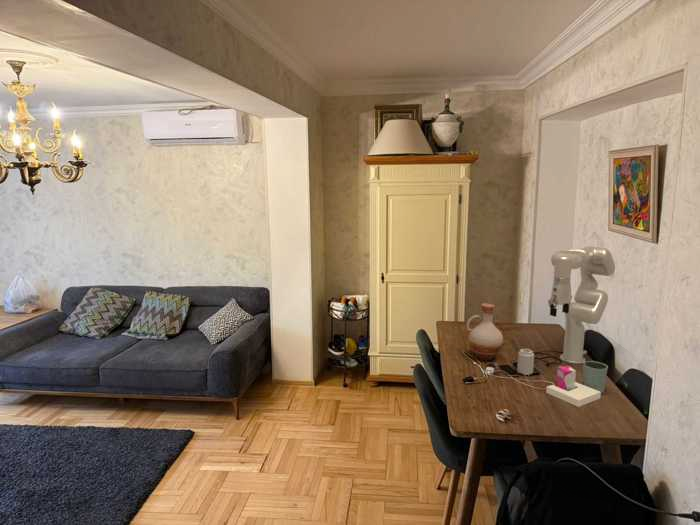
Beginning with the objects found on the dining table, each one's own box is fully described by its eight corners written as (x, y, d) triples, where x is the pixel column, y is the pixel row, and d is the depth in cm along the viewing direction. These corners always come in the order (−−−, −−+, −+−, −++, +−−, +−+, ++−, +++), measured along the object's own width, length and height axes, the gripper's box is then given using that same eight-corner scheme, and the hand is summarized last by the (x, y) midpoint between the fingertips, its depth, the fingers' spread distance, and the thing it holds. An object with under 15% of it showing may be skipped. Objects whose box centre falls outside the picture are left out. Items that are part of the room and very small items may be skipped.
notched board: (568, 385, 226) (568, 379, 226) (600, 398, 213) (600, 391, 212) (546, 392, 218) (546, 386, 218) (578, 407, 205) (578, 400, 204)
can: (532, 371, 243) (534, 348, 240) (533, 377, 236) (534, 354, 234) (517, 369, 245) (518, 347, 243) (517, 375, 238) (518, 352, 236)
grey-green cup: (596, 395, 216) (598, 370, 213) (576, 387, 224) (578, 362, 222) (610, 391, 220) (612, 366, 218) (590, 382, 229) (592, 359, 227)
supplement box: (567, 388, 222) (569, 365, 220) (574, 394, 217) (576, 370, 215) (555, 389, 222) (557, 366, 220) (562, 395, 216) (564, 371, 214)
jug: (462, 360, 257) (464, 306, 252) (467, 349, 273) (469, 298, 268) (500, 365, 250) (503, 310, 244) (503, 354, 266) (506, 302, 261)
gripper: (557, 284, 227) (554, 319, 230) (579, 279, 235) (576, 313, 239) (543, 281, 233) (541, 315, 236) (565, 277, 242) (563, 309, 245)
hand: (559, 314), depth 237 cm, fingers open, 9 cm apart
